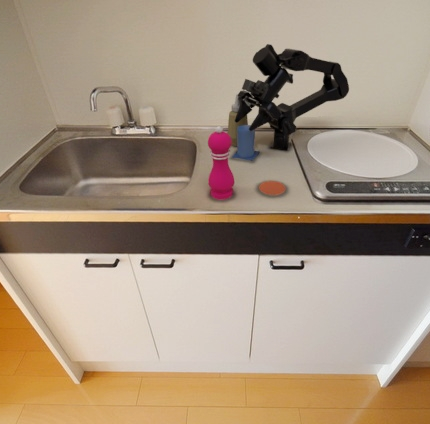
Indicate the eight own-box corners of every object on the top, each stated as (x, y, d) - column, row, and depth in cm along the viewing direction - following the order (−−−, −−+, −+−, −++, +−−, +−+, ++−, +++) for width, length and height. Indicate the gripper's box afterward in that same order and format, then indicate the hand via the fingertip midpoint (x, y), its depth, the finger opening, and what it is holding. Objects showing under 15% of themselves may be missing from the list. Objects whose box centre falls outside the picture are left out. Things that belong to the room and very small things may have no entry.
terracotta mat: (263, 180, 86) (263, 179, 86) (288, 185, 84) (288, 183, 84) (255, 193, 81) (255, 191, 81) (281, 198, 78) (281, 197, 78)
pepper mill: (232, 202, 77) (230, 132, 65) (206, 200, 79) (200, 131, 67) (236, 188, 83) (236, 121, 71) (212, 186, 84) (208, 120, 72)
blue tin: (250, 149, 103) (251, 123, 97) (256, 156, 98) (257, 129, 93) (234, 152, 102) (234, 126, 96) (240, 159, 97) (240, 132, 91)
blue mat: (239, 149, 105) (239, 148, 104) (259, 152, 102) (259, 151, 102) (231, 158, 99) (231, 156, 99) (252, 161, 96) (252, 160, 96)
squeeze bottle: (223, 144, 109) (221, 95, 98) (236, 137, 114) (236, 90, 103) (239, 149, 105) (239, 99, 94) (252, 142, 109) (254, 93, 99)
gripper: (242, 63, 92) (213, 104, 95) (276, 73, 79) (242, 120, 81) (261, 86, 99) (234, 123, 102) (295, 98, 86) (263, 140, 89)
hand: (242, 125), depth 93 cm, fingers open, 9 cm apart
